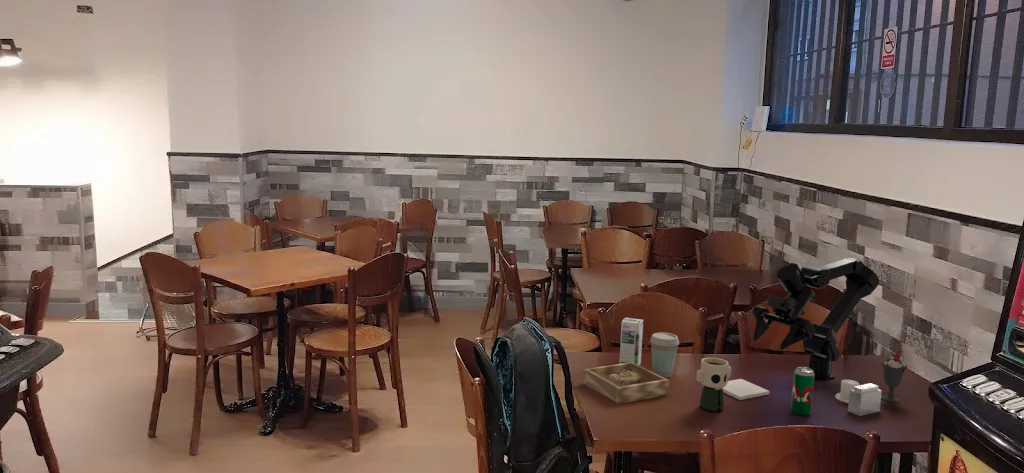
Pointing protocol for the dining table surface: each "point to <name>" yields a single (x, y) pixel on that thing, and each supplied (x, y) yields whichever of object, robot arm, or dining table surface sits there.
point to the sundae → (893, 375)
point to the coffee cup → (664, 353)
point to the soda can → (802, 391)
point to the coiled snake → (625, 378)
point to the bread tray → (646, 389)
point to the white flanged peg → (846, 390)
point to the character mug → (713, 382)
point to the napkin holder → (864, 399)
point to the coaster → (743, 389)
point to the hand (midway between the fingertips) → (767, 344)
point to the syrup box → (631, 341)
